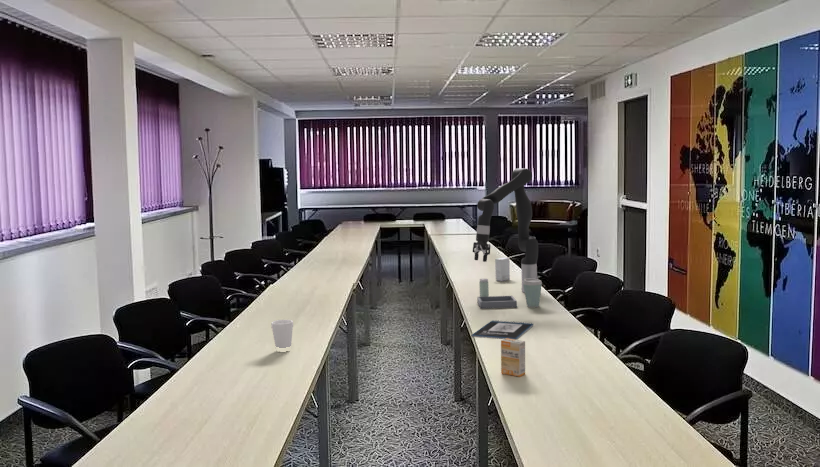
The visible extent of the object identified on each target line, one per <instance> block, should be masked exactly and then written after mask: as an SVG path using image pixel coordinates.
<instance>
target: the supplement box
mask: <svg viewBox="0 0 820 467" xmlns="http://www.w3.org/2000/svg"><path fill="white" fill-rule="evenodd" d="M500 365H501V366H500V371H501V372H500V373H502V375H508V376H514V377H518V378H521V377H522V376H524V375H526V341H525V340H519V339H517V340H514V339H509V338H506V339H500Z"/></svg>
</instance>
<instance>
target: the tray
mask: <svg viewBox="0 0 820 467" xmlns="http://www.w3.org/2000/svg"><path fill="white" fill-rule="evenodd" d="M476 298H477V300H476V301H477V304H478V306H479V308H480V310H481V309H502V308H503V309H504V308H505V309H506V308H507V309H509V308H518V302H517V300H516V299H515V298H516V297H515V296H513V295H494V296H492V295H491V296H490V295H489V296H485V297H480V296H477V297H476Z"/></svg>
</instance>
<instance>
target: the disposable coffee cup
mask: <svg viewBox="0 0 820 467" xmlns="http://www.w3.org/2000/svg"><path fill="white" fill-rule="evenodd" d="M523 285H524V291H525V292H524V296H525V297H524V298H525V301H526V306H527V307H528V308H538V307H539V306H540V302H541V301H540V300H541V293H542V285H543V282H542V280H540V279H539V278H538V279H532V278H526V279H524V281H523Z"/></svg>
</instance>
